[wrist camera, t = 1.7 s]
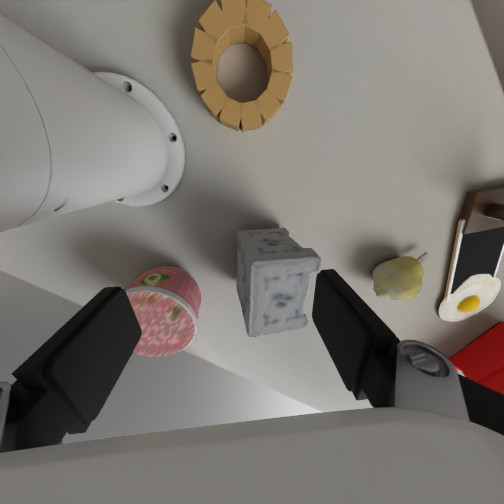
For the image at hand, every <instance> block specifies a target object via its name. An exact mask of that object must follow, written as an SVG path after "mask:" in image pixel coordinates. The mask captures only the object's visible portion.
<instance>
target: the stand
mask: <svg viewBox="0 0 504 504" xmlns="http://www.w3.org/2000/svg"><path fill="white" fill-rule="evenodd" d="M461 219H464V220H466V221H465V224H464V227H463V230H462V234H468V233H473V232H478V231H484V230H489V229H494V228H499V227H504V185H501V186H496V187H491V188H485V189H480V190H475V191H470V192H468V194H467V197H466V200H465V204H464V207H463V210H462V214H461V217H460V220H461ZM456 232H457V230H456Z"/></svg>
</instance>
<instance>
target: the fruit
mask: <svg viewBox="0 0 504 504" xmlns="http://www.w3.org/2000/svg"><path fill="white" fill-rule="evenodd" d="M427 255H428V253H424V254H423V255H421V256H420V257H419V258H418V259H417V260H416V259H415V258H413V257H410V256H405V257H399V258H395V259H392V260H388V261H386V262H383V263H381V264H380V265H378V266H377V267H376V268H375V269H374V270H373V279H374V288H373V289H374V291H375V292H376V295H377V296H378V297H383V298H390V299H393V300H399V301H402V300H408V299H410V298H412V297H414V296H415V295H416V294H417V293H418V292H419V291H420V289H421V286H422V276H423V268H422V265H421V263H422V262H423V261H424V260H425V258H426V257H427Z"/></svg>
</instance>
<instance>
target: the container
mask: <svg viewBox="0 0 504 504" xmlns="http://www.w3.org/2000/svg"><path fill="white" fill-rule="evenodd" d="M124 290H125V291H126V293H127V296H128V298H129V300H130V303H131V305H132V308H133V310H134V313H135V315H136V318H137V320H138V322H139V325H140V327H141V330H142V335H141V338H140V340H139V342H138V344H137V345H136V347H135V349H134V351H133V353H136V354H139V355H144V356H152V357H158V356H167V355H172V354H175V353H178V352H179V351H181V350H183V349H185V348H186V347H187V346H188V345H189V344H190V343H191V342H192V340H193V339H194V336H195V334H196V330H197V318H198V313H199V308H200V303H201V293H200V290H199V287H198V285H197V283H196V281H195V280H194V278H193V277H192V276H191V275H190V274H189V273H188V272H186V271H185V270H183V269H181V268H178V267H173V266H163V267H156V268H153V269H150V270H147V271H145V272H143V273H142V274H140V275H139V276H138V277H137V278H136V279H135V280H134V281H133V282H132V283H131V284H130V285H129V286H127V287H126V288H125V289H124Z"/></svg>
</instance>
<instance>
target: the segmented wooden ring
mask: <svg viewBox="0 0 504 504" xmlns="http://www.w3.org/2000/svg"><path fill="white" fill-rule="evenodd" d="M220 3H221V8H220V7H219V5H218V3H217V2H216V0H214V1H213V2H212V4H211V5H210V6H209V7H208V9H207V10H206V11H205V13H204V14H203V15H202V16H201V18H200V19H199V21H198V22H199V25H200V29H201V30H200V29H198V28H197V27H196V28H195V33H194V39H193V45H192V51H191V58H192V60H193V63H191V66H192V70H193V74H194V78H195V82H196V87H197V90H198V92H199V94H200V97H201V99H202V101H203V102H204V104H205V106H206V107H207V108H208V109H209V111H210V112H211V113H212V115H213V116H214V117H215V118H216V120H217V121H218V120H219V119H220V122H221V124H223V125H225V126H227V127H230V128H232V129H234V130H237V131H238V130H239V126H240V123H241V128H242V131H247V130H252V129H257V128H259V127H260V126H261V124H262V125H265V124H266V123H267V122H268V121H269V120H270V119H271V118H272V117H273V116H274V115H275V114H276V113H277V111H278V110H279V108H280V107H281V105H282V103H283V102H284V100H285V97H286V95H287V92H288V89H289V86H290V83H291V80H292V76H290V75H291V73H292V71H293V60H292V46H291V42H288V43H286V42H287V40H288V37H289V33H288V31H287V30H286V28H285V26H284V24H283V22H282V20H281V18H280V16H279V14H278V13H277V11H276V10H275V11H274V12H273V14H272V15H271V16H270V17H269V15H270V10H271V4H269V3H268V2H266V1H264V0H247V3H245V0H220ZM242 42H246V43H248V44H249V45H251V46H253V47H255V48H257V49H258V50H259V52H260V54H261V55H262V57H263V59H264V60H265V62H266V65H267V73H268V84H267V87H266V90H265V91H264V92H263V93H262V94H261V95H260V96H259V97H258V98H257V99H256V100H254V101H250V102H245V103H240V102H238V101H235V100H233V99H231V98H229V97H227V95H226V94H225V92H224V91H223V90H222V88H221V87H220V85H219V84H218V81H217V76H216V72H217V68H218V63H219V58H220V56H221V55H222V54H223V53H224V51H225V50H226V49H227V48H228V47H229V46H230V45H232V44H237V43H242Z"/></svg>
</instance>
